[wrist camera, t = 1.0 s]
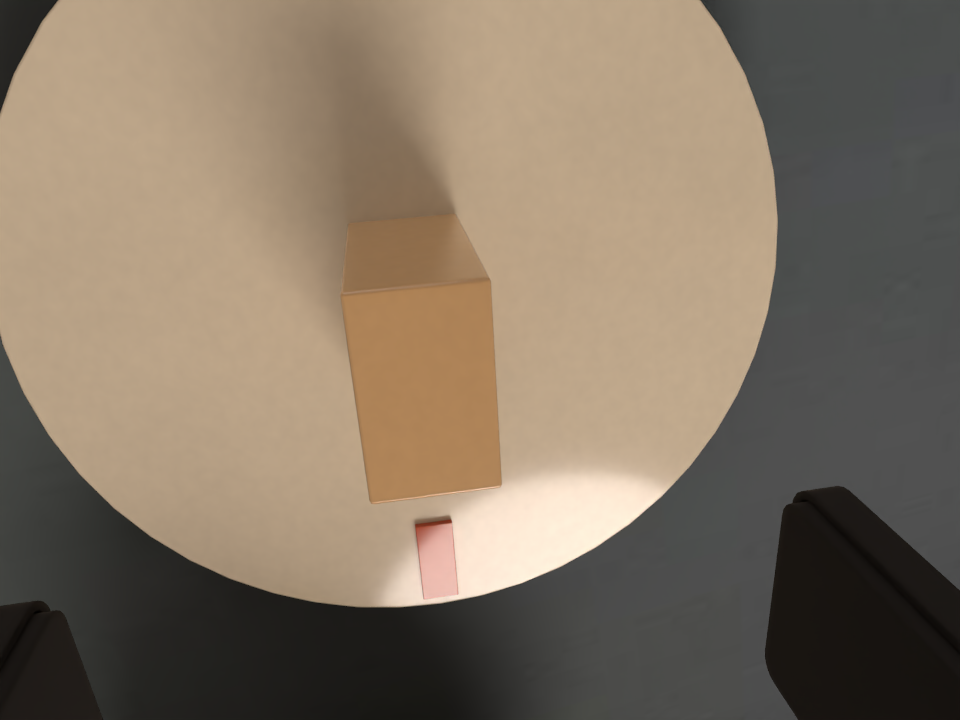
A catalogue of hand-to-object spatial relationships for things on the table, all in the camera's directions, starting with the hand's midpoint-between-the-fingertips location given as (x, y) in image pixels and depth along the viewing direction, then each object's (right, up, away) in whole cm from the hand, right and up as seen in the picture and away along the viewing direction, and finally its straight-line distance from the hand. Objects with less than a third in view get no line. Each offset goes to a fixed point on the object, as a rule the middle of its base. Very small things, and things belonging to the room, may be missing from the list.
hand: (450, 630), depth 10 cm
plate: (-2, +6, +12) cm, 13 cm away
